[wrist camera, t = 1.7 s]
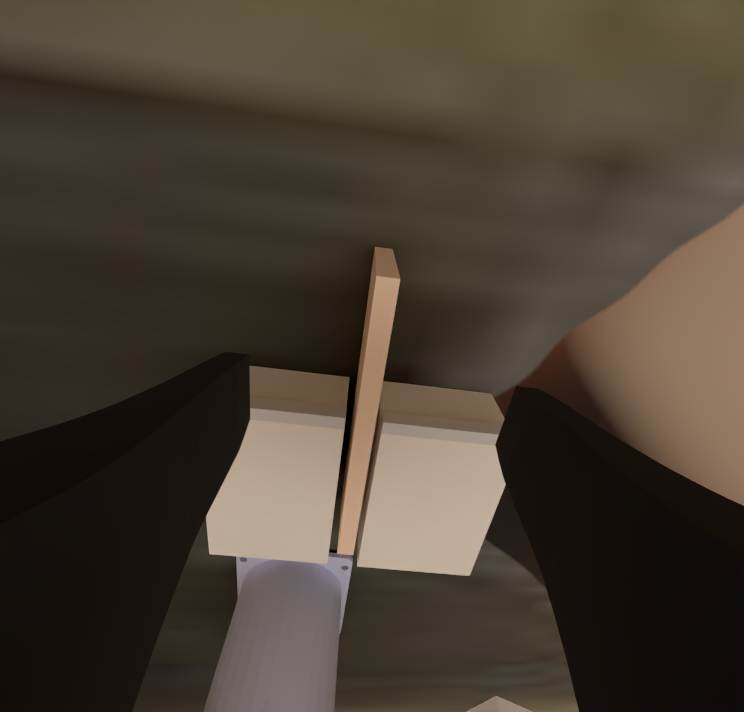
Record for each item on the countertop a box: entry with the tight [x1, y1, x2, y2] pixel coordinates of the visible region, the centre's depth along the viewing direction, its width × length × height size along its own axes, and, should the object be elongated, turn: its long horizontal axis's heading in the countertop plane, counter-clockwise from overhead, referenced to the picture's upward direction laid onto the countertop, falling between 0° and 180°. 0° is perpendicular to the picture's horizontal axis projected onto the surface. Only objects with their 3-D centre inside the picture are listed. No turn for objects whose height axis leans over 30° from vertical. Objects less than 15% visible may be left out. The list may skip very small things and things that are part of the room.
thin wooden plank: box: [337, 247, 400, 555], centre depth 18 cm, size 14×1×5 cm, turn 172°
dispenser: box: [206, 366, 506, 576], centre depth 20 cm, size 10×14×4 cm
